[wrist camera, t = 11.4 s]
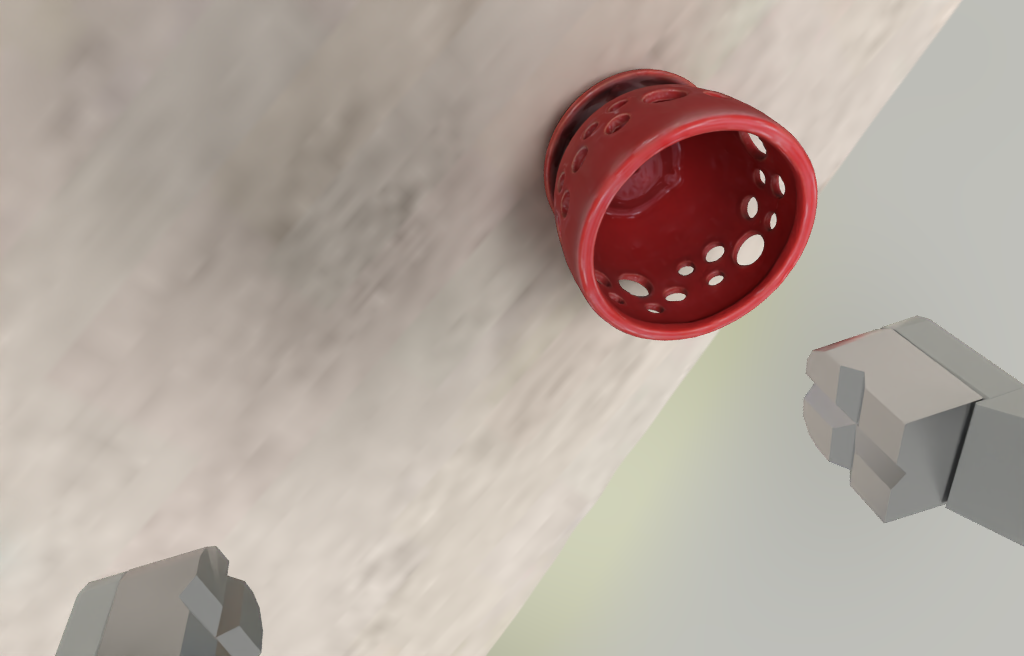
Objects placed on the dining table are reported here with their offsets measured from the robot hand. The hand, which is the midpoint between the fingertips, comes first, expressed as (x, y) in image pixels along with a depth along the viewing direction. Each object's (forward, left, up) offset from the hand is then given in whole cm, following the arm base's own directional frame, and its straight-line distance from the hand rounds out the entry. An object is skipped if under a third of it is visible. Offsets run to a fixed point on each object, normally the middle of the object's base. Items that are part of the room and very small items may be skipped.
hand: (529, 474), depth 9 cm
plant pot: (+11, +13, -33) cm, 37 cm away
